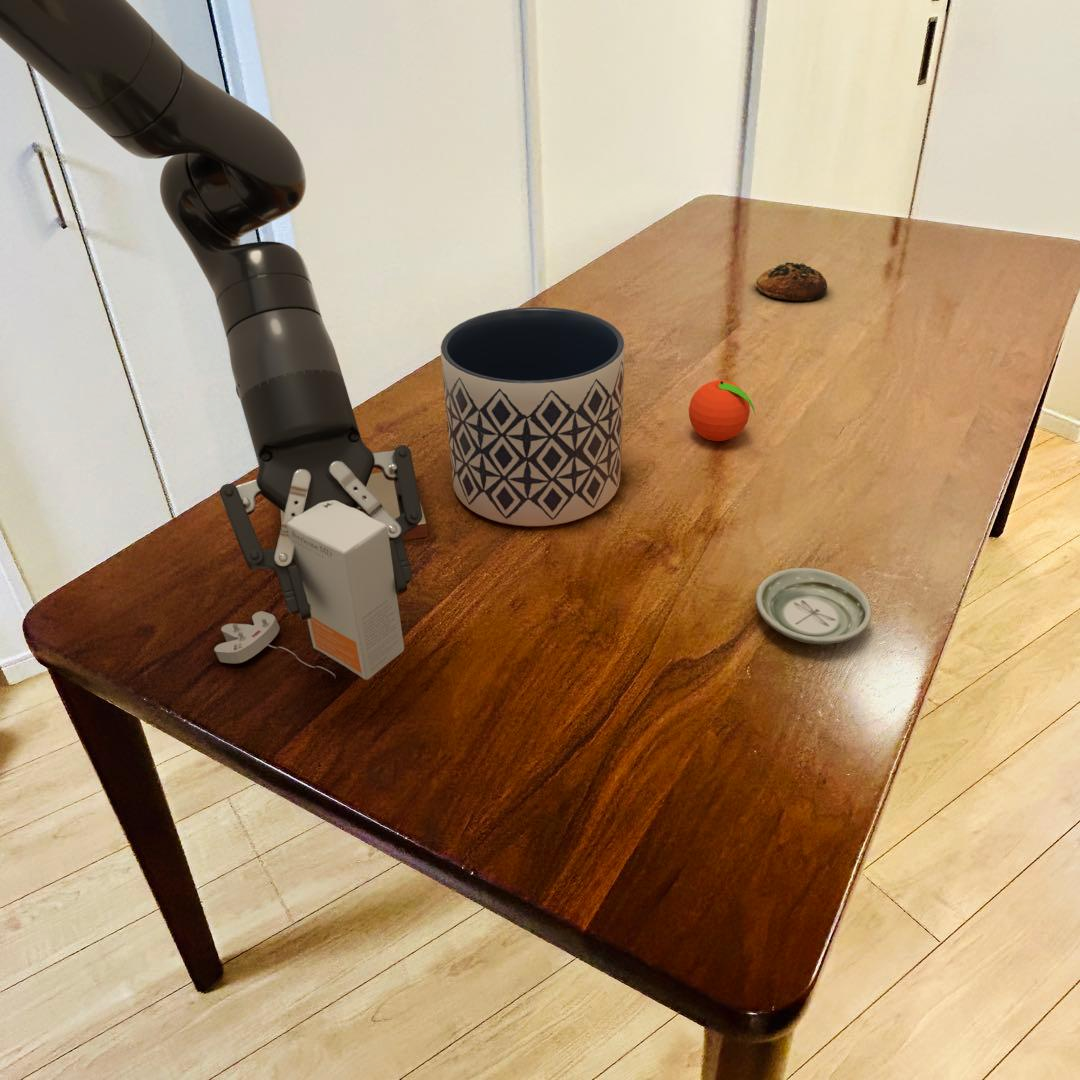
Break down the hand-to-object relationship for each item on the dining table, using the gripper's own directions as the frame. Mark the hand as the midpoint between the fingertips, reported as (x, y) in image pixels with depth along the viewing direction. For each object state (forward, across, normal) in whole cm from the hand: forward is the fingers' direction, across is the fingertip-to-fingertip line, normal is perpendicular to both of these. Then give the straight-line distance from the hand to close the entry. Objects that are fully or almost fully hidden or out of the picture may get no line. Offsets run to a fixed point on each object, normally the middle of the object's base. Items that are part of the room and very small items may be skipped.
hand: (354, 604), depth 64 cm
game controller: (+1, -6, +16) cm, 17 cm away
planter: (-10, +25, +26) cm, 38 cm away
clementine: (-10, +49, +26) cm, 56 cm away
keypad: (-12, +6, +28) cm, 31 cm away
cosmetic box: (+3, 0, +5) cm, 6 cm away
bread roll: (-34, +84, +50) cm, 104 cm away
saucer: (+12, +38, +4) cm, 40 cm away
